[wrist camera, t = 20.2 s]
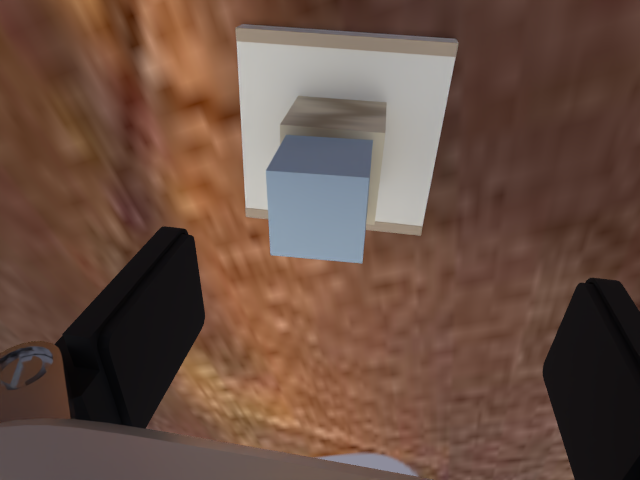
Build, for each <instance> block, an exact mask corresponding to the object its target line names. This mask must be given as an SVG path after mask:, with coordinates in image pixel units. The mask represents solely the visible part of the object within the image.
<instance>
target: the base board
mask: <svg viewBox="0 0 640 480" xmlns="http://www.w3.org/2000/svg"><path fill="white" fill-rule="evenodd" d="M236 41H237V56H238V75H239V93H240V111H241V130H242V148H243V167H244V185H245V204H246V208H245V210H246V217H252V218H261V219H268V201H267V183H266V169H267V168H268V166H269V164H270V162H271V161H272V159H273V157H274V155H275V153H276V152H277V150H278V148H279V146H280V124H281V122H282V120H283V119H284V117H285V116H286V114H287V113H288V111H289V109H290V108H291V106H292V105H293V103H294V102H295V100H296V98H297V97H298V96H308V97H321V98H335V99H348V100H361V101H375V102H387V106H386V131H385V141H384V149H383V158H382V166H381V174H380V183H379V191H378V200H377V208H376V216H375V225H370V224H366V230H373V231H382V232H391V233H401V234H410V235H419V236H421V232H422V225H423V220H424V215H425V210H426V205H427V200H428V195H429V190H430V185H431V180H432V175H433V169H434V164H435V159H436V154H437V149H438V144H439V139H440V134H441V129H442V124H443V119H444V113H445V108H446V103H447V98H448V93H449V88H450V83H451V78H452V73H453V68H454V62H455V57H456V54H457V49H458V42H457V40H456V39H452V38H438V37H423V36H408V35H394V34H379V33H365V32H350V31H335V30H321V29H306V28H292V27H277V26H262V25H248V24H242V25H240V26H238V27H236Z"/></svg>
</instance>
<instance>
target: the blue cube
mask: <svg viewBox="0 0 640 480" xmlns="http://www.w3.org/2000/svg"><path fill="white" fill-rule="evenodd" d="M372 146H373V140H362V139H345V138H329V137H313V136H296V135H286V136H285V138H284V139H283V141H282V143H281V145H280V146H279V148H278V150H277V152H276V153H275V155H274V157H273V159H272V161H271V162H270V164H269V166H268V168H267V169H266V183H267V201H268V219H269V237H270V254H271V255H275V256H286V257H297V258H309V259H320V260H331V261H342V262H353V263H362V261H363V251H364V240H365V230H366V220H367V208H368V196H369V183H370V171H371V159H372Z"/></svg>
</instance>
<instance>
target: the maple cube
mask: <svg viewBox="0 0 640 480" xmlns="http://www.w3.org/2000/svg"><path fill="white" fill-rule="evenodd" d="M386 106H387V102H375V101H361V100H348V99H335V98H321V97H308V96H298V97H297V98H296V100H295V102H294V103H293V105H292V106H291V108H290V109H289V111H288V113H287V114H286V116H285V117H284V119H283V120H282V122H281V124H280V145H281V143H282V141H283V139H284V138H285V136H286V135H296V136H313V137H329V138H345V139H362V140H373V146H372V159H371V171H370V183H369V196H368V208H367V220H366V224H370V225H375V216H376V208H377V200H378V191H379V183H380V174H381V166H382V158H383V149H384V141H385V131H386Z"/></svg>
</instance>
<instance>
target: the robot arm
mask: <svg viewBox="0 0 640 480" xmlns="http://www.w3.org/2000/svg"><path fill="white" fill-rule="evenodd" d="M204 320H205V312H204V304H203V297H202V290H201V283H200V276H199V269H198V262H197V255H196V248H195V241H194V237H193V236H192V235H188V232H187V230H186V229H182V228H174V227H165V226H164V227H161V228H160V229H159V230H158V231H157V232H156V233H155V234H154V236H153V237H152V238H151V239H150V240H149V241H148V242H147V243H146V244H145V245H144V246H143V247H142V249H141V250H140V251H139V252H138V253H137V254H136V255H135V256H134V257H133V258H132V259H131V260H130V262H129V263H128V264H127V265H126V266H125V267H124V268H123V269H122V270H121V271H120V272H119V273H118V275H117V276H116V277H115V278H114V279H113V280H112V281H111V282H110V283H109V284H108V285H107V286H106V288H105V289H104V290H103V291H102V292H101V293H100V294H99V295H98V296H97V297H96V298H95V299H94V301H93V302H92V303H91V304H90V305H89V306H88V307H87V308H86V309H85V310H84V311H83V312H82V314H81V315H80V316H79V317H78V318H77V319H76V320H75V321H74V322H73V323H72V324H71V326H70V327H69V328H68V329H67V330H66V331H65V332H64V333H63V336H62V337H61V338H60V339H59V340H58V341H57V342H56V343H55V344H53V343H49V342H45V341H31V342H27V343H22V344H19V345H16V346H13V347H11V348H8V349H6V350H5V351H3V352H1V353H0V480H432V479H427V478H422V477H416V476H410V475H405V474H399V473H393V472H389V471H382V470H378V469H372V468H367V467H361V466H356V465H350V464H344V463H339V462H334V461H327V460H322V459H317V458H311V457H306V456H300V455H295V454H289V453H284V452H278V451H272V450H267V449H261V448H255V447H249V446H244V445H238V444H232V443H227V442H221V441H215V440H209V439H204V438H198V437H192V436H187V435H181V434H175V433H169V432H163V431H156V430H150V429H145V428H146V427H147V425H148V423H149V421H150V420H151V418H152V416H153V414H154V412H155V411H156V409H157V407H158V405H159V404H160V402H161V400H162V398H163V396H164V395H165V393H166V391H167V389H168V388H169V386H170V384H171V382H172V380H173V379H174V377H175V375H176V373H177V372H178V370H179V368H180V366H181V364H182V363H183V361H184V359H185V357H186V356H187V354H188V352H189V350H190V349H191V347H192V345H193V343H194V341H195V340H196V338H197V336H198V334H199V333H200V331H201V329H202V327H203V324H204ZM543 378H544V382H545V385H546V388H547V391H548V395H549V398H550V401H551V404H552V408H553V411H554V414H555V417H556V420H557V424H558V427H559V430H560V433H561V436H562V440H563V443H564V446H565V449H566V453H567V456H568V459H569V462H570V465H571V469H572V472H573V475H574V478H575V480H640V312H639V310H638V308H637V307H636V305H635V304H634V302H633V301H632V299H631V297H630V296H629V294H628V293H627V291H626V290H625V288H624V287H623V285H622V284H621V283H620V282H619V281H616V280H607V279H599V278H589V279H588V280H587V281H586V283H579V284H578V285H577V287H576V289H575V292H574V294H573V296H572V299H571V301H570V303H569V306H568V308H567V310H566V313H565V315H564V317H563V320H562V322H561V324H560V327H559V329H558V331H557V334H556V336H555V339H554V341H553V343H552V346H551V348H550V350H549V353H548V355H547V357H546V360H545V362H544V365H543Z"/></svg>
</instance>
